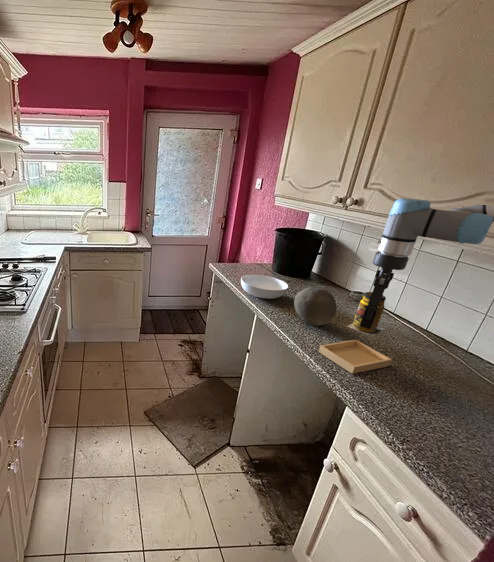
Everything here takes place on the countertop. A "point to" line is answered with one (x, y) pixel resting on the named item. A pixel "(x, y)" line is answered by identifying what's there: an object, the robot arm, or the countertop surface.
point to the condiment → (360, 312)
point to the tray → (355, 356)
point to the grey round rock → (315, 305)
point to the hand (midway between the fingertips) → (366, 323)
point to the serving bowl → (263, 286)
